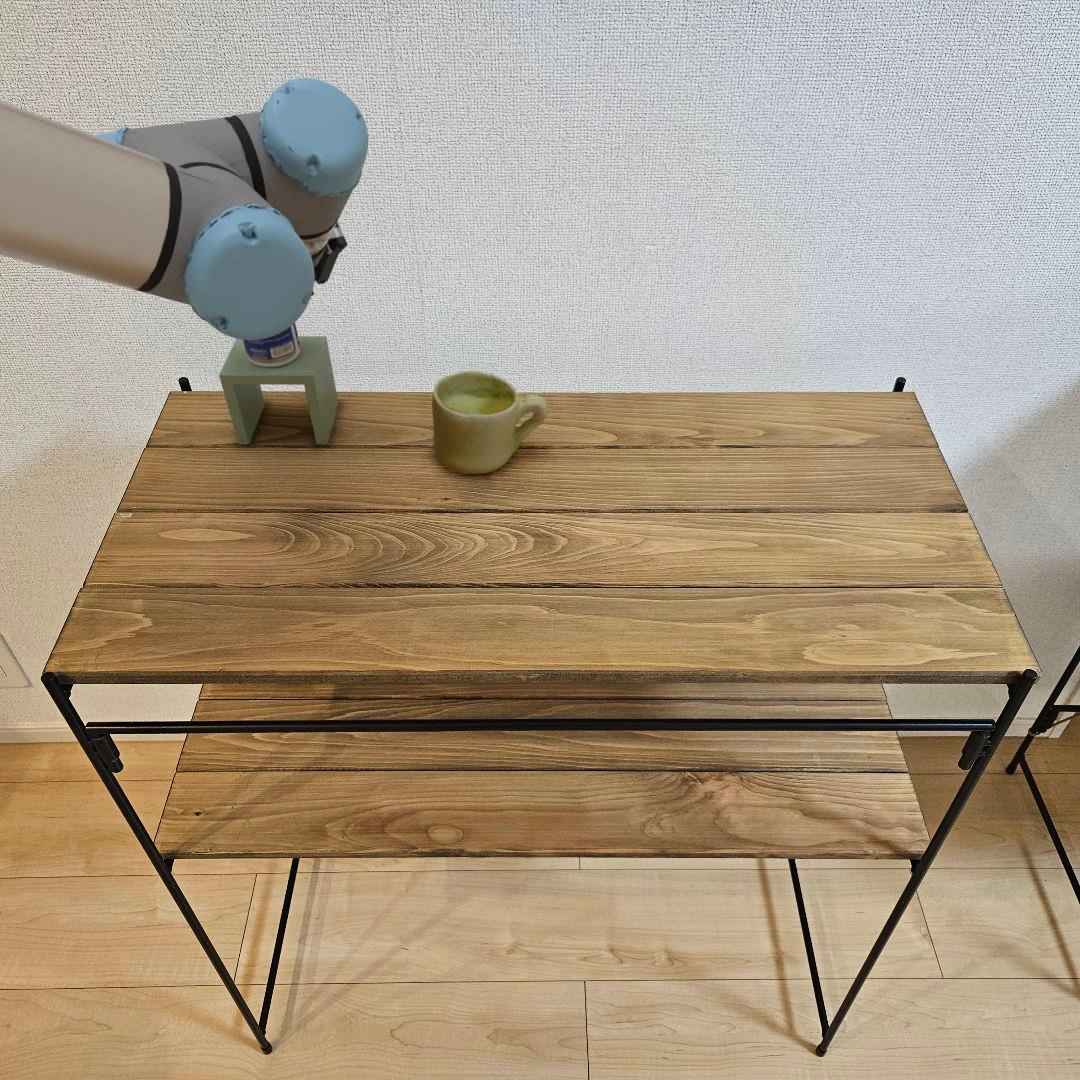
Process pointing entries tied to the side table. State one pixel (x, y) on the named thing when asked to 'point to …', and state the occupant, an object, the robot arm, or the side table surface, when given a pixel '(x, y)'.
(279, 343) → the pill bottle
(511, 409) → the mug
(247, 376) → the shelf
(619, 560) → the side table surface
